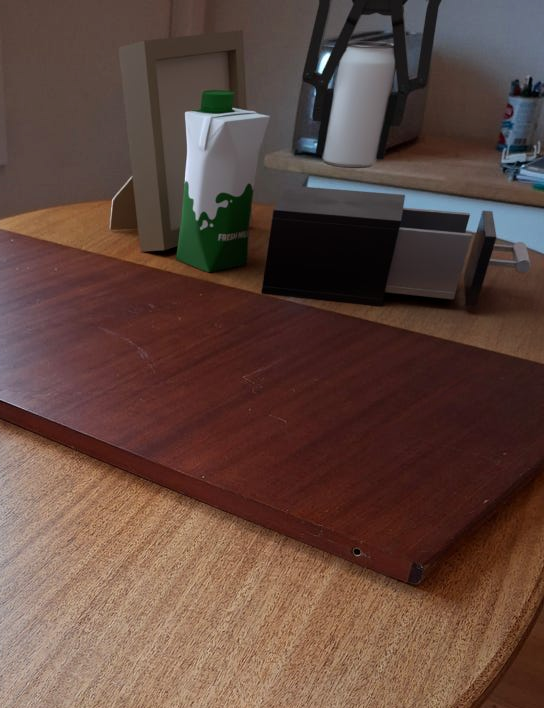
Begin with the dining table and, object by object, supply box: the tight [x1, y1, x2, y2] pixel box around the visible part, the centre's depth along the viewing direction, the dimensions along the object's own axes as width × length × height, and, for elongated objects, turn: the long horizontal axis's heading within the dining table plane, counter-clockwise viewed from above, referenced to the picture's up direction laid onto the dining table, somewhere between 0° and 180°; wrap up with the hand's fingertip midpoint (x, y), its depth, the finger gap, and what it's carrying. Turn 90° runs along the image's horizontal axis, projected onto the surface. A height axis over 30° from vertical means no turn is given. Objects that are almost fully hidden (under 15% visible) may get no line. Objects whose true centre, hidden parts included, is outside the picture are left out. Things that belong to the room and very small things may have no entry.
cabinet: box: [260, 185, 406, 307], centre depth 112 cm, size 15×14×10 cm
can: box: [321, 40, 396, 169], centre depth 102 cm, size 6×6×12 cm
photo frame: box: [108, 29, 253, 253], centre depth 126 cm, size 15×22×25 cm
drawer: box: [385, 207, 532, 308], centre depth 108 cm, size 18×13×8 cm
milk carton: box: [175, 90, 271, 273], centre depth 115 cm, size 9×9×20 cm
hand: (349, 154), depth 105 cm, fingers closed on can, 6 cm apart
